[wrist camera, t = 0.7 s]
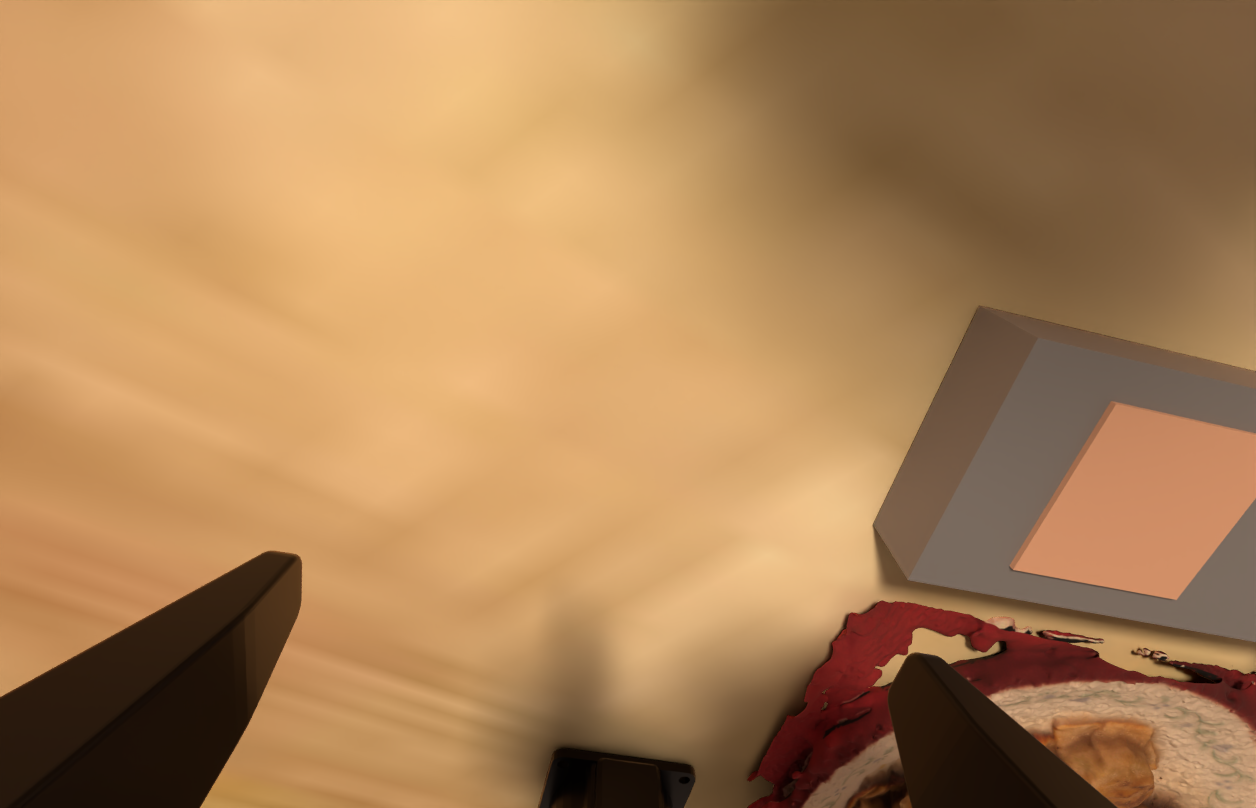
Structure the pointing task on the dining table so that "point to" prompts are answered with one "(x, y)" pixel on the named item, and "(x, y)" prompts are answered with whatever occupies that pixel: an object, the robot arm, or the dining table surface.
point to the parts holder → (1084, 478)
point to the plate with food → (1021, 718)
